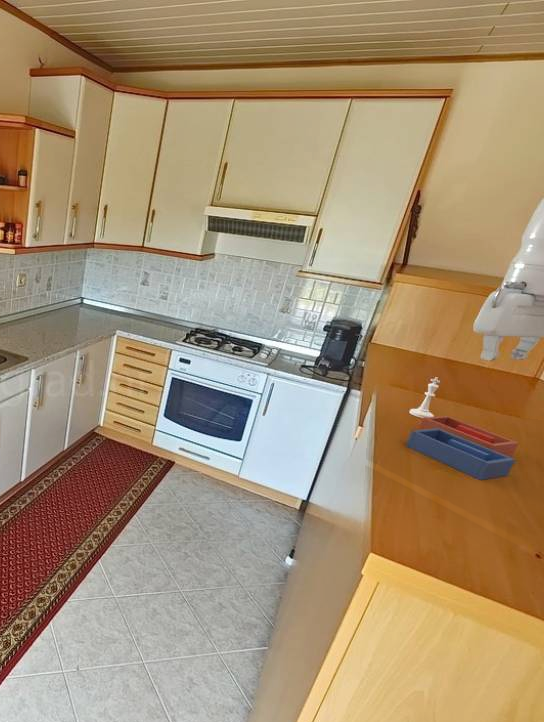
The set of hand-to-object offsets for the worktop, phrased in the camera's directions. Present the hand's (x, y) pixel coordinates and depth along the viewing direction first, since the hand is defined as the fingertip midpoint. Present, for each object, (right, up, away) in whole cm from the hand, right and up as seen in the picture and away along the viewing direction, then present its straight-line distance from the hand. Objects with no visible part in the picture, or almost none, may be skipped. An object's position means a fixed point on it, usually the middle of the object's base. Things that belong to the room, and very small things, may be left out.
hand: (502, 359), depth 89 cm
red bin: (+7, -17, +16) cm, 25 cm away
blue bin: (-2, -20, +7) cm, 21 cm away
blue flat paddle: (-3, -19, +8) cm, 21 cm away
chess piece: (+10, -12, +32) cm, 36 cm away
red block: (+6, -17, +17) cm, 25 cm away
